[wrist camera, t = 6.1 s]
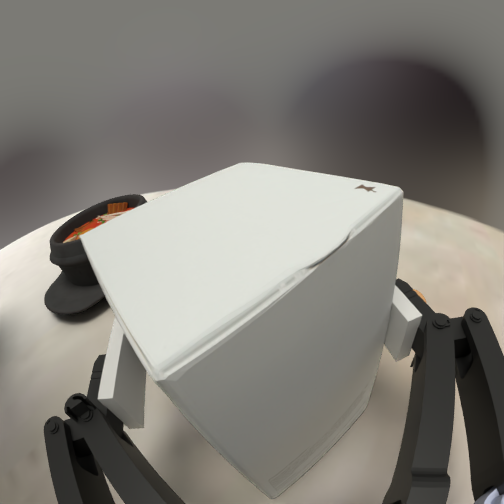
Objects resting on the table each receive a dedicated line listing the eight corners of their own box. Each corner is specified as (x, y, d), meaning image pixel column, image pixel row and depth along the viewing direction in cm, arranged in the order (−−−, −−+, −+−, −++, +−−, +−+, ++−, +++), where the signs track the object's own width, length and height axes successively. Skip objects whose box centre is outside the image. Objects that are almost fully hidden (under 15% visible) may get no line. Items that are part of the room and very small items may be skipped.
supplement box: (277, 347, 22) (242, 157, 14) (369, 407, 16) (413, 184, 8) (186, 415, 18) (73, 231, 10) (270, 503, 11) (148, 380, 4)
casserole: (128, 226, 52) (114, 186, 47) (208, 226, 44) (195, 175, 40) (33, 308, 33) (6, 262, 28) (99, 343, 25) (59, 279, 21)
